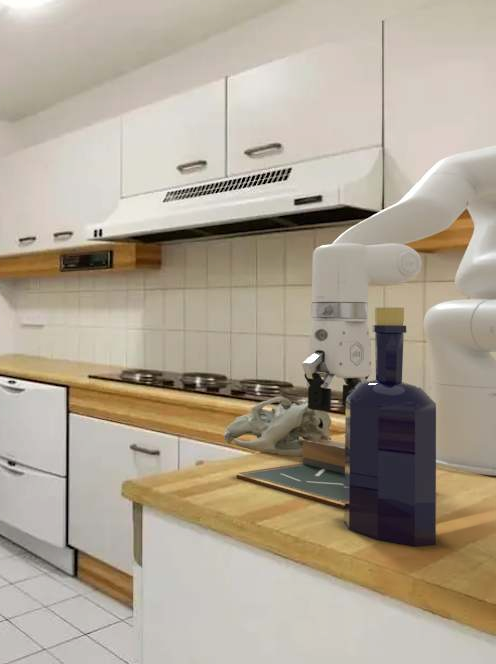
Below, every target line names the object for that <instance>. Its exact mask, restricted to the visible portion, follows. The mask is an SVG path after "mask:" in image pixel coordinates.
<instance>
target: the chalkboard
mask: <svg viewBox="0 0 496 664" xmlns="http://www.w3.org/2000/svg"><path fill="white" fill-rule="evenodd" d="M239 474H240V475H239ZM249 477H250V478H249ZM236 479H237V480H241V481H244V482H247V483H250V484H255V485H257V486H261V487H264V488H268V489H271V490H274V491H277V492H282V493H284V494H288V495H292V496H295V497H299V498H302V499H305V500H308V501H312V502H316V503H319V504H323V505H326V506H330V507H332V508H336V509H341V510H343V511H345V474H342V473H338V472H334V471H330V470H326V469H321V468H317V467H313V466H309V465H305V464H303V462H302V463H296V464H290V465H283V466H282V465H281V466H276V467H269V468H263V469H256V470H249V471H242V472H238V474H236ZM256 479H257V480H256ZM267 482H268V483H267ZM288 488H289V489H288ZM291 489H292V490H291ZM303 492H304V493H303ZM306 493H307V494H306ZM309 494H310V495H309ZM313 495H314V496H313ZM316 496H317V497H316ZM320 497H321V498H320ZM323 498H325V499H323ZM331 500H332V501H331ZM337 502H338V503H337ZM341 503H342V504H341Z"/></svg>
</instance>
